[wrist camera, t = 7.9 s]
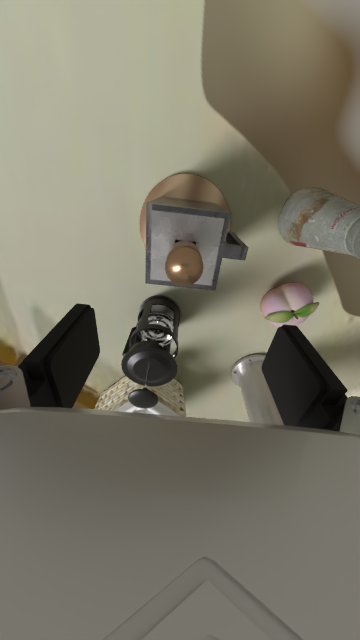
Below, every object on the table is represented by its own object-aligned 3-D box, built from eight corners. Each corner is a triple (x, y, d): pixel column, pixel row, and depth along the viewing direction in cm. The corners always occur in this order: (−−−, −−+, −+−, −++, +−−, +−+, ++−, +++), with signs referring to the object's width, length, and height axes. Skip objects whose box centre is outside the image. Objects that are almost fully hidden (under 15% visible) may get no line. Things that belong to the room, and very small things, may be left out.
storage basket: (151, 354, 55) (141, 403, 42) (190, 385, 61) (192, 436, 49) (96, 391, 63) (75, 441, 51) (135, 415, 70) (125, 465, 58)
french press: (171, 287, 44) (160, 367, 25) (189, 321, 48) (192, 411, 29) (125, 308, 47) (83, 393, 28) (146, 337, 51) (123, 429, 32)
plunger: (206, 211, 34) (225, 235, 18) (200, 251, 37) (211, 301, 21) (167, 207, 34) (150, 227, 18) (165, 247, 37) (149, 295, 21)
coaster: (239, 180, 33) (240, 180, 33) (219, 274, 42) (220, 276, 41) (140, 168, 33) (139, 167, 32) (140, 266, 42) (139, 267, 41)
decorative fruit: (260, 317, 47) (276, 345, 39) (249, 288, 44) (264, 312, 35) (303, 300, 45) (330, 326, 36) (295, 267, 41) (323, 289, 33)
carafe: (234, 205, 35) (262, 216, 22) (223, 258, 40) (240, 293, 27) (160, 196, 34) (146, 203, 22) (158, 251, 39) (145, 283, 27)
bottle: (315, 171, 33) (649, 138, 9) (337, 219, 36) (616, 282, 13) (266, 213, 36) (417, 265, 12) (290, 252, 39) (443, 352, 16)
